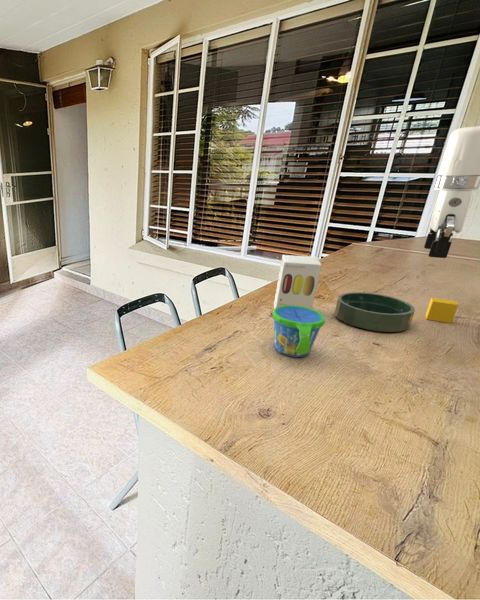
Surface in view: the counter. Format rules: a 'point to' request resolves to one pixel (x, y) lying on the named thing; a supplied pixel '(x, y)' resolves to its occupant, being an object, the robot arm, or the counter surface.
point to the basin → (374, 312)
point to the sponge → (441, 310)
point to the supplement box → (297, 281)
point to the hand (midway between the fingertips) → (434, 252)
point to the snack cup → (296, 329)
